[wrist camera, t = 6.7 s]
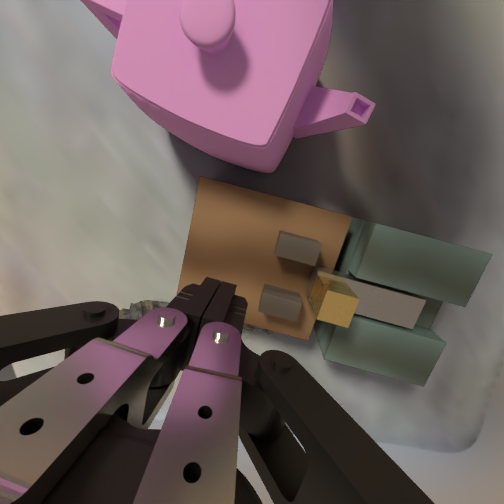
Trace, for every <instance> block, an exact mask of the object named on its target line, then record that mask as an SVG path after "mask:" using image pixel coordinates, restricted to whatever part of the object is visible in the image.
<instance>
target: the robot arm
mask: <svg viewBox="0 0 504 504" xmlns="http://www.w3.org/2000/svg"><path fill="white" fill-rule="evenodd" d="M236 287H237V285H235V284H232V283H228V282H224V281H222V283H221V280H217V279H213V278H210V277H206V278H205V279H204V281H203V282H202V283H201V285H197V284H194V283H192V284H190V285H187V286H185V287H184V288H183V289H182V290H181V291H180V292H179V293H178V294H177V296H176V297H175V298H174V299H173V300H172V301H171V302H170V303H169V304H168V305H167V306H166V308H156V309H153V310H151V311H149V312H148V313H147V314H145V315H144V316H143V317H142V318H140V319H139V320H134V319H119V309H118V308H117V307H116V306H115V305H113V304H111V303H107V302H99V301H94V302H85V303H79V304H73V305H67V306H60V307H54V308H48V309H41V310H35V311H29V312H22V313H16V314H10V315H4V316H0V370H1V369H3V368H4V367H6V366H7V365H9V364H11V363H14V362H17V361H21V360H25V359H29V358H32V357H36V356H40V355H44V354H48V353H51V352H55V351H59V350H63V349H65V359H64V361H62V362H61V363H60V364H58V365H57V366H55V367H52V368H49V369H45V370H42V371H39V372H35V373H32V374H29V375H25V376H22V377H19V378H16V379H12V380H9V381H0V504H262V502H261V500H260V498H259V496H258V495H257V493H256V491H255V490H254V488H253V487H252V485H251V484H250V482H249V481H248V480H247V479H246V477H245V476H244V475H243V474H242V473H241V472H240V471H239V470H238V469H237V468H236V467H237V451H238V436H240V439H241V441H242V443H243V445H244V447H245V449H246V451H247V452H248V454H249V457H250V458H251V460H252V462H253V464H254V466H255V468H256V470H257V472H258V474H259V476H260V477H261V479H262V481H263V483H264V485H265V487H266V489H267V491H268V493H269V495H270V497H271V499H272V500H273V502H274V504H434V503H433V502H432V501H431V499H429V497H428V496H427V495H426V494H425V493H424V492H423V491H422V490H421V489H420V488H419V487H418V486H417V485H416V484H415V483H414V482H413V481H412V480H411V479H410V478H409V477H408V476H407V475H406V474H405V472H404V471H402V469H401V468H400V467H399V466H398V465H397V464H396V463H395V462H394V461H393V460H392V459H391V458H390V457H389V456H388V455H387V454H386V453H385V452H384V451H383V450H382V449H381V448H380V447H379V446H378V444H377V443H376V442H375V441H374V440H373V439H372V438H371V437H370V436H369V435H368V434H367V433H366V432H365V431H364V430H363V429H362V428H361V427H360V426H359V425H358V424H357V423H356V422H355V421H354V420H353V418H352V417H351V416H350V415H349V414H348V413H347V412H346V411H345V410H344V409H343V408H342V407H341V406H340V405H339V404H338V403H337V402H336V401H335V400H334V399H333V398H332V397H331V396H330V395H329V394H328V393H327V391H326V390H325V389H324V388H323V387H322V386H321V385H320V384H319V383H318V382H317V381H316V380H315V379H314V378H313V377H312V376H311V375H310V374H309V373H308V372H307V371H306V370H305V369H304V368H303V367H302V366H301V365H300V363H299V362H298V361H297V360H296V359H294V358H293V357H292V356H290V355H289V354H287V353H284V352H282V351H278V350H268V351H265V352H264V353H262V354H261V356H259V355H258V354H256V353H254V352H252V351H251V350H249V349H248V348H247V347H246V346H245V345H244V343H243V341H242V339H241V334H242V329H243V325H244V320H245V315H246V310H247V306H248V303H247V301H246V299H245V297H241V296H238V295H235V291H236ZM180 370H182V371H183V373H182V376H181V379H180V381H179V384H178V386H177V389H176V392H175V394H174V397H173V400H172V402H171V405H170V407H169V410H168V413H167V415H166V418H165V421H164V423H163V426H162V429H161V430H157V429H156V430H155V429H148V427H149V426H150V425H151V423H152V421H153V420H154V418H155V416H156V415H157V413H158V411H159V410H160V408H161V407H162V405H163V403H164V402H165V400H166V398H167V397H168V395H169V393H170V392H171V390H172V388H173V386H174V382H175V379H176V377H177V375H178V374H179V372H180ZM285 422H286V423H287V424H288V426H289V427H290V429H291V430H292V431H293V433H294V434H295V436H296V437H297V438H298V440H299V441H300V443H301V444H302V446H303V447H304V449H305V452H306V453H305V452H304V450H303V449H302V447H301V446H300V444H299V443H298V442H297V440H296V439H295V437H294V436H293V434H292V433H291V432H290V430H289V429H288V427H287V426H286V425H285Z"/></svg>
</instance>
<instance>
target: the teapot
mask: <svg viewBox="0 0 504 504" xmlns="http://www.w3.org/2000/svg"><path fill="white" fill-rule="evenodd" d="M81 1H82V2H83V3H84V4H85V5H86V7H87V8H88V9H89V10H90V11H91V12H92V13H93V14H94V15H95V16H96V17H97V18H98V20H99V21H100V22H101V23H102V24H103V25H104V26H105V27H106V28H107V29H108V30H109V31H110V32H111V34H112V35H113V36H114V37H115V38H116V39H117V42H116V47H115V51H114V56H113V61H112V67H111V74H112V77H113V78H114V79H115V81H116V82H117V83H118V84H119V86H120V87H121V88H122V89H123V90H124V92H125V93H126V94H127V95H128V96H129V97H130V99H131V100H132V101H133V102H134V103H135V104H136V105H137V106H138V107H139V108H140V109H141V110H142V111H143V112H144V113H145V114H147V115H148V116H149V117H150V118H151V119H152V120H154V121H155V122H156V123H157V124H159V125H160V126H162V127H163V128H165V129H166V130H168V131H169V132H171V133H172V134H174V135H175V136H177V137H178V138H180V139H182V140H183V141H185V142H187V143H188V144H190V145H192V146H193V147H195V148H197V149H199V150H201V151H203V152H205V153H207V154H209V155H211V156H213V157H216V158H218V159H220V160H223V161H226V162H228V163H231V164H234V165H237V166H240V167H243V168H246V169H249V170H253V171H257V172H261V173H272V172H274V171H275V169H276V168H277V167H278V165H279V164H280V162H281V160H282V158H283V156H284V154H285V152H286V150H287V148H288V146H289V144H290V142H291V140H292V138H293V137H294V138H296V139H298V138H303V137H308V136H313V135H318V134H323V133H327V132H332V131H337V130H342V129H347V128H352V127H357V126H362V125H366V123H367V121H368V119H369V117H370V115H371V113H372V111H373V109H374V107H375V105H376V104H375V103H374V102H372V101H370V100H369V99H367V98H365V97H363V96H362V95H360V94H358V93H357V92H353V93H350V92H345V91H339V90H333V89H328V88H322V87H316V84H317V81H318V78H319V76H320V73H321V71H322V68H323V65H324V62H325V59H326V54H327V50H328V46H329V42H330V36H331V28H332V14H333V0H81Z"/></svg>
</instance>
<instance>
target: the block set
mask: <svg viewBox="0 0 504 504" xmlns="http://www.w3.org/2000/svg"><path fill="white" fill-rule="evenodd" d="M492 255H493V254H489V253H486V252H482V251H478V250H474V249H471V248H467V247H463V246H459V245H456V244H452V243H448V242H444V241H441V240H437V239H433V238H430V237H426V236H422V235H418V234H415V233H411V232H407V231H403V230H400V229H396V228H392V227H388V226H385V225H381V224H377V223H374V222H370V221H366V220H362V219H359V218H355V217H351V216H347V215H344V214H340V213H336V212H332V211H329V210H325V209H321V208H317V207H314V206H310V205H306V204H303V203H299V202H295V201H291V200H288V199H284V198H280V197H276V196H273V195H269V194H265V193H261V192H258V191H254V190H250V189H247V188H243V187H239V186H235V185H232V184H228V183H224V182H220V181H217V180H213V179H209V178H205V177H202V176H200V180H199V185H198V190H197V195H196V200H195V205H194V210H193V215H192V220H191V225H190V230H189V235H188V240H187V245H186V250H185V255H184V260H183V265H182V270H181V275H180V281H179V286H178V291H177V294H178V293H179V292H180V291H181V290H182V289H183V288H184V287H185V286H187V285H190V284H192V283H194V284H197V285H201V283H202V282H203V281H204V279H205V278H206V277H210V278H213V279H217V280H221V283H222V281H224V282H228V283H232V284H235V285H237V287H236V291H235V295H238V296H241V297H245V299H246V301H247V303H248V306H247V310H246V315H245V320H244V323H246V324H250V325H253V326H257V327H261V328H264V329H268V330H271V331H275V332H279V333H282V334H286V335H289V336H293V337H297V338H300V339H304V340H307V341H308V340H309V337H310V334H311V331H312V328H313V326H314V329H315V332H316V335H317V338H318V341H319V344H320V348H321V351H322V354H323V357H324V359H326V360H330V361H334V362H337V363H341V364H344V365H348V366H352V367H355V368H359V369H362V370H366V371H369V372H373V373H377V374H380V375H384V376H387V377H391V378H395V379H398V380H402V381H405V382H409V383H412V384H416V385H420V386H423V387H424V385H425V383H426V382H427V380H428V378H429V376H430V374H431V372H432V370H433V368H434V366H435V364H436V362H437V360H438V358H439V357H440V355H441V353H442V351H443V349H444V347H445V345H446V342H445V341H444V340H442V339H441V338H440V337H439V336H438V335H436V334H435V333H434V332H433V331H432V330H431V329H430V327H431V325H432V323H433V321H434V319H435V317H436V315H437V312H438V310H439V308H440V306H441V304H442V302H443V301H445V302H448V303H452V304H456V305H459V306H463V307H466V305H467V303H468V301H469V299H470V297H471V295H472V293H473V291H474V289H475V287H476V285H477V283H478V282H479V280H480V278H481V276H482V274H483V272H484V270H485V268H486V266H487V264H488V262H489V260H490V258H491V257H492ZM315 265H317V266H320V267H324V268H328V269H331V270H335V271H339V272H343V273H346V274H350V275H354V276H355V277H356V278H360V279H364V280H367V281H371V282H375V283H378V284H382V285H386V286H389V287H393V288H397V289H400V290H404V291H408V292H411V293H415V294H418V295H419V296H421V297H422V298H423V299H425V300H426V302H425V304H424V306H423V309H422V311H421V313H420V315H419V317H418V319H417V321H416V323H415V325H414V328H413V329H410V328H406V327H403V326H399V325H395V324H392V323H388V322H384V321H381V320H377V319H374V318H370V317H366V316H363V315H359V314H355V313H354V315H353V317H352V320H351V322H350V325H349V327H348V328H346V327H343V326H339V325H335V324H332V323H328V322H325V321H321V320H317V319H316V316H315V313H314V310H313V308H312V305H311V302H310V301H308V298H307V296H306V293H305V292H306V289H307V286H308V283H309V280H310V277H311V274H312V271H313V268H314V266H315Z"/></svg>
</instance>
